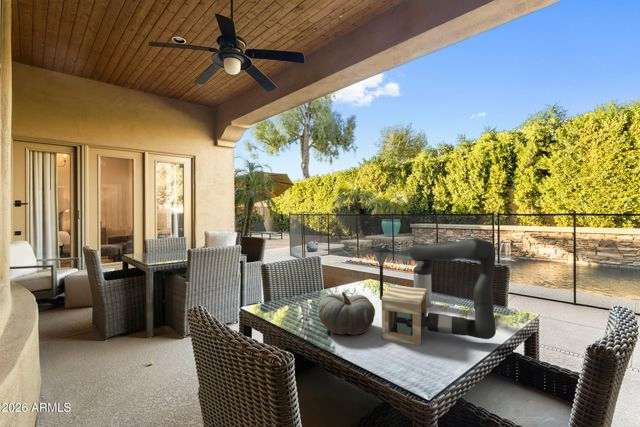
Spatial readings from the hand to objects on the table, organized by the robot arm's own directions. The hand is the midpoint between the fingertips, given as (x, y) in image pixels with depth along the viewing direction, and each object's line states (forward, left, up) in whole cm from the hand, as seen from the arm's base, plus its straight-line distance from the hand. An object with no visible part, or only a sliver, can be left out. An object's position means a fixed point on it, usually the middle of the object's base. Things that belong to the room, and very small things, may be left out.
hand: (398, 317), depth 138 cm
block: (0, +3, -6) cm, 7 cm away
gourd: (+6, -21, -6) cm, 23 cm away
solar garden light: (-44, -18, -6) cm, 48 cm away
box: (0, +4, -6) cm, 7 cm away
